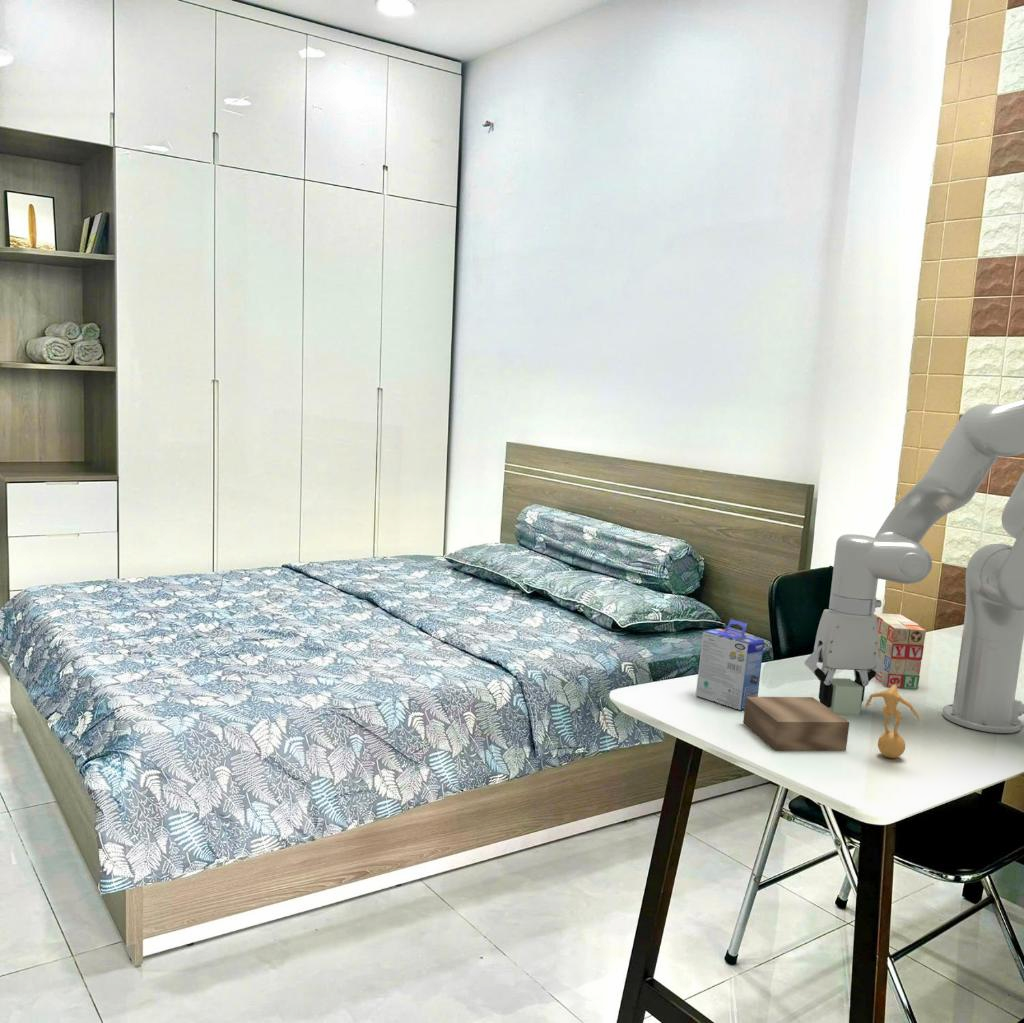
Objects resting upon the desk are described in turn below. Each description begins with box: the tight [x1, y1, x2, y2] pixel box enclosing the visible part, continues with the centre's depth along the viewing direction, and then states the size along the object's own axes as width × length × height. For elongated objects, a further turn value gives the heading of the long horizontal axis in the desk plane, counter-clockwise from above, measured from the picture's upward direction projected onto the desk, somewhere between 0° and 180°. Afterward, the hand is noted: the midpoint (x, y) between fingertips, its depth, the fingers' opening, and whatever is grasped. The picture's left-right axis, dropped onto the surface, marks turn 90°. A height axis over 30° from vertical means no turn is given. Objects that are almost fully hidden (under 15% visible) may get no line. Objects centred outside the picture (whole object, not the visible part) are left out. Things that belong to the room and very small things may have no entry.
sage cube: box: [828, 677, 863, 716], centre depth 173 cm, size 5×5×5 cm
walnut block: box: [742, 696, 850, 752], centre depth 157 cm, size 12×12×5 cm
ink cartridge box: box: [695, 618, 765, 711], centre depth 172 cm, size 10×6×14 cm, turn 44°
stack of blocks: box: [874, 612, 927, 691], centre depth 199 cm, size 21×6×12 cm, turn 0°
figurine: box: [864, 685, 920, 759], centre depth 149 cm, size 8×6×12 cm
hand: (840, 704), depth 173 cm, fingers closed on sage cube, 5 cm apart
